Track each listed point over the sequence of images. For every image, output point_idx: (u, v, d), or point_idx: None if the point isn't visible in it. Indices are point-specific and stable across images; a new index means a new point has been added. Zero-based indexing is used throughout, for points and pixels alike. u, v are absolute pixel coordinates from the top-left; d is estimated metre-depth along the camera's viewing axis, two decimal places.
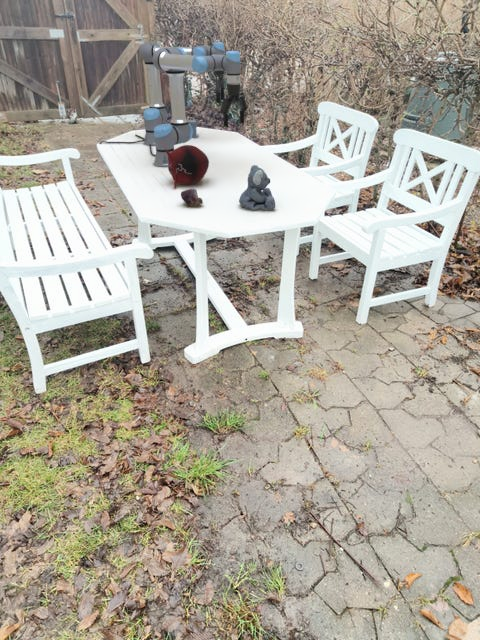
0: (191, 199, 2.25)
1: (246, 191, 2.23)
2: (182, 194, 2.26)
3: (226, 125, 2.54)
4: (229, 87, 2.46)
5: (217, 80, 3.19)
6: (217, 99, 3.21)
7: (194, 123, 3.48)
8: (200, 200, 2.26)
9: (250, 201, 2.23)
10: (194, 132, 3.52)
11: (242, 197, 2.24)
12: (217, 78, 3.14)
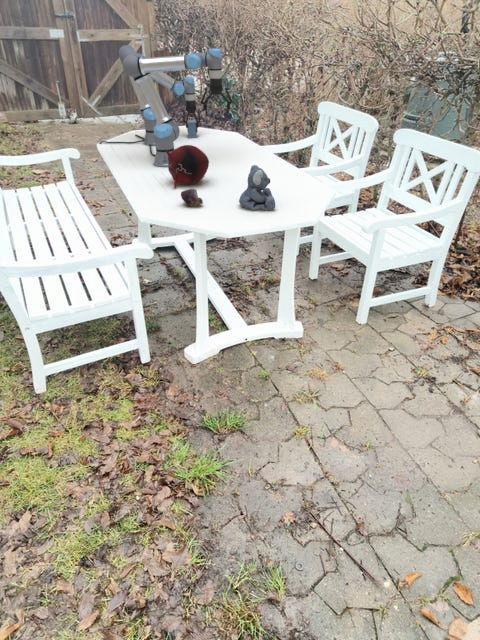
0: (191, 199, 2.25)
1: (246, 191, 2.23)
2: (182, 194, 2.26)
3: None
4: (221, 80, 2.76)
5: None
6: None
7: (194, 123, 3.48)
8: (200, 200, 2.26)
9: (250, 201, 2.23)
10: (194, 132, 3.52)
11: (242, 197, 2.24)
12: (199, 110, 3.47)
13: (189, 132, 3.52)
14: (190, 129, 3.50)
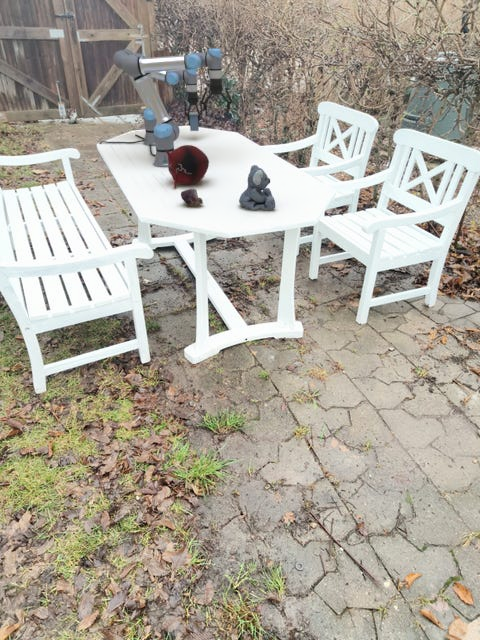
0: (191, 199, 2.25)
1: (246, 191, 2.23)
2: (182, 194, 2.26)
3: None
4: (221, 80, 2.76)
5: None
6: None
7: (196, 115, 3.35)
8: (200, 200, 2.26)
9: (250, 201, 2.23)
10: (196, 124, 3.38)
11: (242, 197, 2.24)
12: None
13: (191, 125, 3.38)
14: (192, 122, 3.37)
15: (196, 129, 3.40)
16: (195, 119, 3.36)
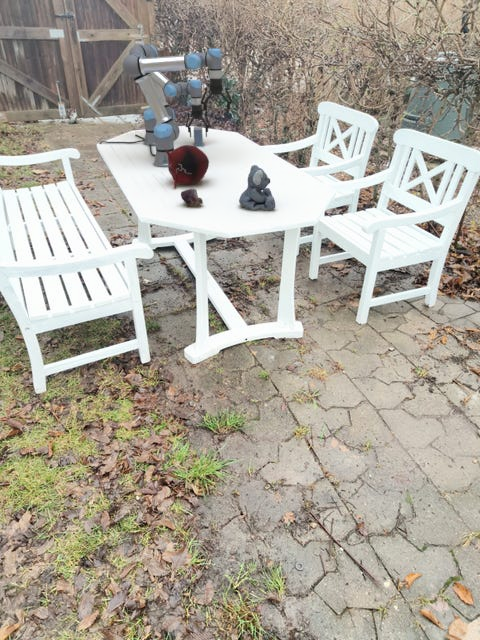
0: (191, 199, 2.25)
1: (246, 191, 2.23)
2: (182, 194, 2.26)
3: None
4: (221, 80, 2.76)
5: None
6: (206, 133, 3.31)
7: (200, 130, 3.26)
8: (200, 200, 2.26)
9: (250, 201, 2.23)
10: (200, 140, 3.30)
11: (242, 197, 2.24)
12: None
13: (195, 140, 3.30)
14: (196, 137, 3.28)
15: (200, 144, 3.32)
16: (199, 134, 3.27)
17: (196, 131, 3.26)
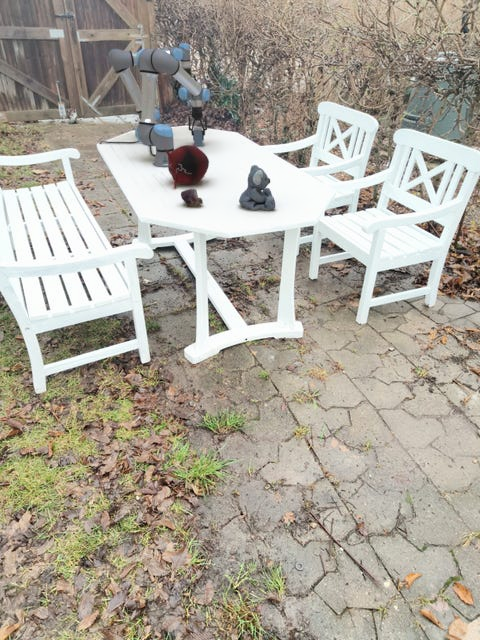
0: (191, 199, 2.25)
1: (246, 191, 2.23)
2: (182, 194, 2.26)
3: (203, 138, 3.34)
4: None
5: None
6: None
7: (200, 131, 3.26)
8: (200, 200, 2.26)
9: (250, 201, 2.23)
10: (200, 140, 3.30)
11: (242, 197, 2.24)
12: (195, 76, 3.38)
13: (195, 140, 3.30)
14: (196, 137, 3.28)
15: (200, 144, 3.32)
16: (199, 134, 3.27)
17: (196, 131, 3.26)
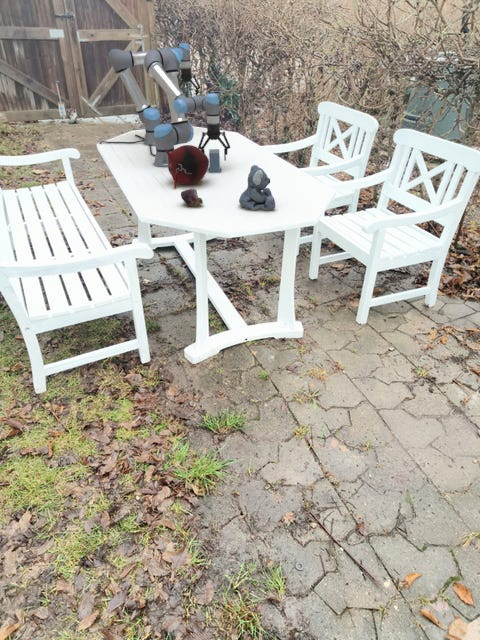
0: (191, 199, 2.25)
1: (246, 191, 2.23)
2: (182, 194, 2.26)
3: (225, 158, 2.78)
4: (219, 125, 2.67)
5: None
6: None
7: (217, 154, 2.72)
8: (200, 200, 2.26)
9: (250, 201, 2.23)
10: (217, 165, 2.75)
11: (242, 197, 2.24)
12: (195, 76, 3.38)
13: (211, 165, 2.75)
14: (212, 162, 2.74)
15: (217, 170, 2.77)
16: (216, 159, 2.73)
17: (212, 155, 2.72)
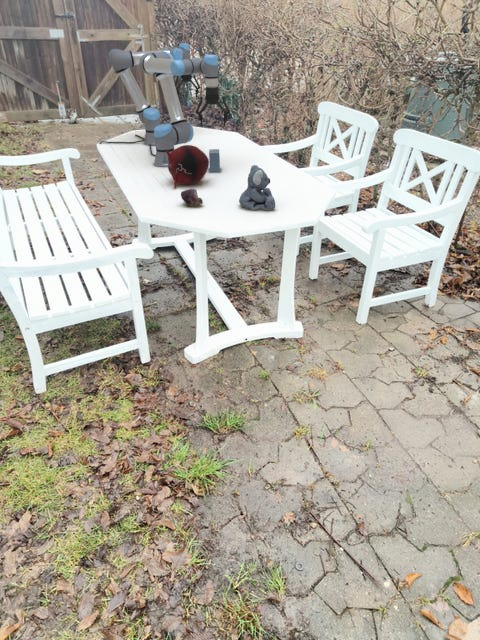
0: (191, 199, 2.25)
1: (246, 191, 2.23)
2: (182, 194, 2.26)
3: None
4: None
5: None
6: (196, 96, 3.45)
7: (217, 154, 2.72)
8: (200, 200, 2.26)
9: (250, 201, 2.23)
10: (217, 165, 2.75)
11: (242, 197, 2.24)
12: (195, 76, 3.38)
13: (211, 165, 2.75)
14: (212, 162, 2.74)
15: (217, 170, 2.77)
16: (216, 159, 2.73)
17: (212, 155, 2.72)
